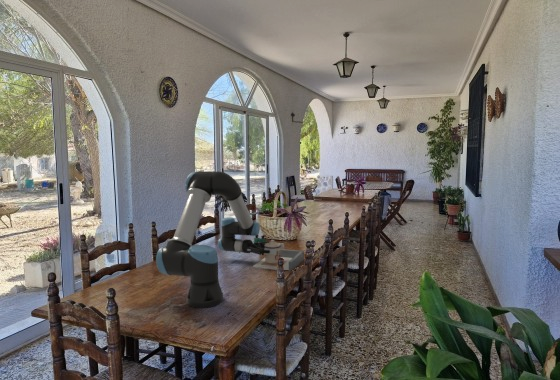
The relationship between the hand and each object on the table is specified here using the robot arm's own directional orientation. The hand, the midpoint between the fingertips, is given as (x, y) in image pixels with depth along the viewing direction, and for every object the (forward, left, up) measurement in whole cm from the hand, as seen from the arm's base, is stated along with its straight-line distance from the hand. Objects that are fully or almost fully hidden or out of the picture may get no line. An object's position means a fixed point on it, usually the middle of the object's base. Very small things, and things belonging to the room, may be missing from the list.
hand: (280, 248), depth 208 cm
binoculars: (+25, +22, -9) cm, 34 cm away
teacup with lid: (0, +4, -7) cm, 8 cm away
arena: (+3, +2, -9) cm, 10 cm away
